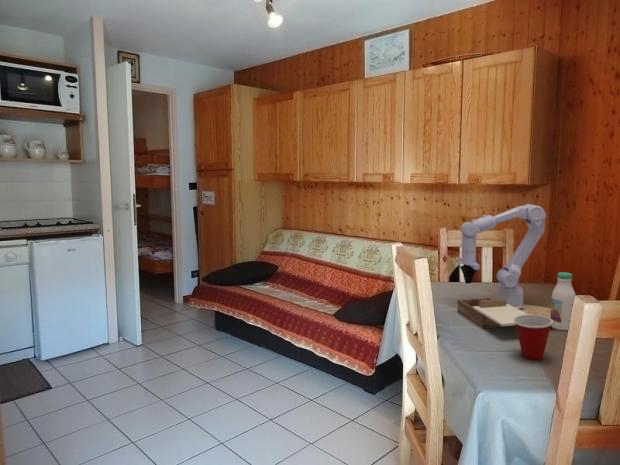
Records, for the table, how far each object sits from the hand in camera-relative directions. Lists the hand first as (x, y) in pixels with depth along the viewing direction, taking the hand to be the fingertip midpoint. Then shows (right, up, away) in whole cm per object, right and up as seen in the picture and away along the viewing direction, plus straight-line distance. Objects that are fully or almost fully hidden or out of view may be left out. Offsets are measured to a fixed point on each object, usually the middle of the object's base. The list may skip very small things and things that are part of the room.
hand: (468, 283), depth 187 cm
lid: (+4, -9, -27) cm, 28 cm away
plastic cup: (+2, -17, -49) cm, 52 cm away
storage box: (+2, -12, -13) cm, 18 cm away
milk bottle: (+25, -13, -25) cm, 38 cm away
